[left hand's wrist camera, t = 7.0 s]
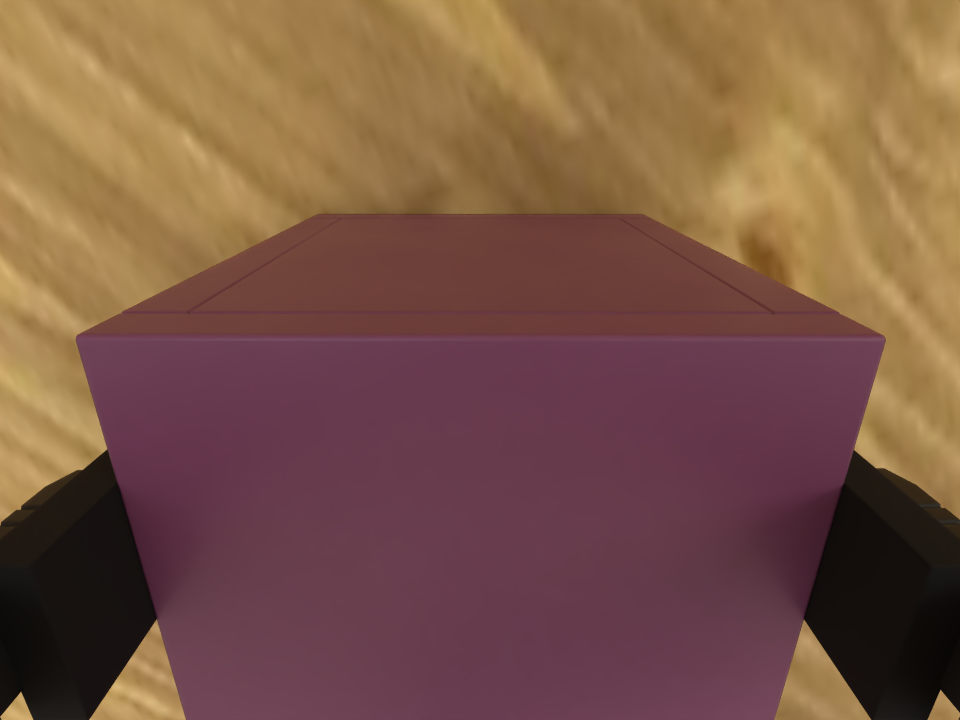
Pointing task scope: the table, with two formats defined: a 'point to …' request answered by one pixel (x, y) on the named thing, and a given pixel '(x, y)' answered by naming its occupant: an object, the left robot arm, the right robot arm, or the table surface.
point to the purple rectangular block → (480, 469)
